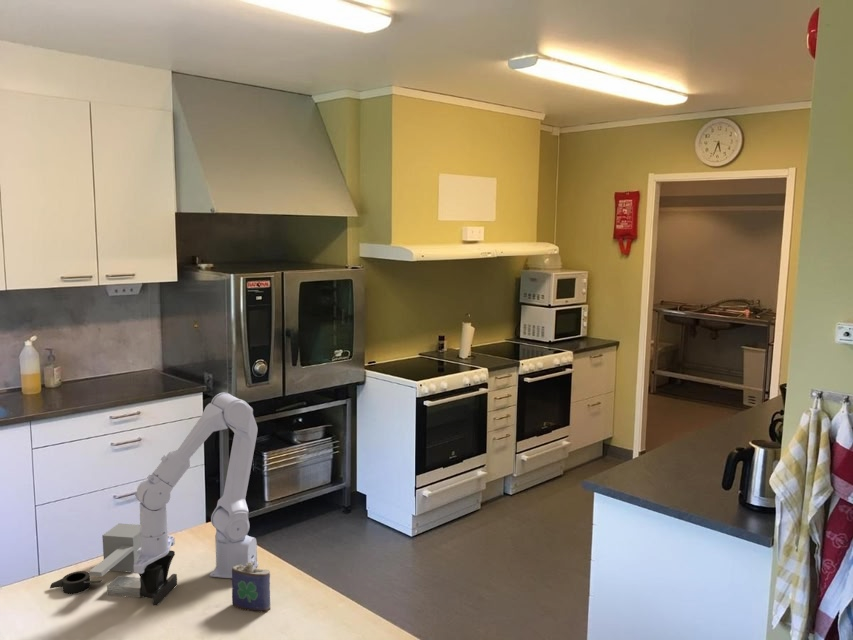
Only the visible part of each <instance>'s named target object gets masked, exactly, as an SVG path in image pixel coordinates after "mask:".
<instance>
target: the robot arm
mask: <svg viewBox="0 0 853 640" xmlns="http://www.w3.org/2000/svg"><path fill="white" fill-rule="evenodd" d="M228 428H229V429H230V430H231V431H232V432H233V433H234V434H233V437H232V438H233V440H232V445H231V450H230V455H229V461H228V467H227V472H226V479H225V483H224V490H223V494H222V496H221V497H220V498H219V499H218V500H217V503H216V507H215V508H214V510H213V511H212V513H211V516H210V522H211V524H212V527H214V528H215V531H216V532H215V535H214V536H215V544H214V545H215V565H216V566H215V568H214V569H213V570H212V571H211V572H210V574H209V577H211V578H221V579H232V568H233V567H234V566H236V565H240V564H242V565H243V566H245V567H246V563H248V562H250V563H252V562H251V561H253V562H254V564H253V568H254V569H257V567H258V565H259V562H258V543H257V538H256V537H253V536H249V535H248V533H249V531H250V528H251V527H250V521H249V508H248V504H247V501H246V498H247V497H246V496H247V491H248V486H249V481H250V477H251V476H250V475H251V469H252V464H253V458H254V452H255V448H256V441H257V436H258V425H257V421H256V419H255V416H254V409H253V407H252V406H250V405H249V403H248V402H246V401H245V400H244V399H240V398H238V397H236V396H233V395H232V394H231V393H228V392H220V393H218V394H216V395H215V396H214V397H212V399H211V402H209V403H208V404H207V405H206V406H205V408H204V410H203V412H202V415H201V416H200V418H199V419H198V420H197V421H196V422H195V425H194V426H193V427H192V429H191V430H190V432H189V433H188V435H187V436H186V437H185V439H184V440H183V442H181V444H180V445H179V447H178V449H177V450H176V449H175V450H173V451H169V452H168V453H167V454H166V455H165V454H164V455H163V456H162V457H161V458H160V461H161V462H160V463H159V464H158V465H157V467H156V468H155V469H154V470H153V472H152V473H151V474H148V476H147V478H146V479H145V480H142V481H141V482H140V484H138V486H137V488H136V491H135V492H134V495H135V498H136V500H138V502H139V525H140V532H141V548H139V549H138V550H137V554H140V555H139V557H138V559H137V562H136V563H135V564H134V572H133V574H138V575H139V578H140V577H141V578H142V580H143V583H144V586H145V588H146V591H147V593H154V592H155V591H156V590H157V589H158V577H159V573H160V570H161V567H162V566H164V571H165V581H166V580H167V579H168V575H169V570H170V567H171V564H172V561H173V559H174V557H175V550H171V548H172V546H175V544H176V541H175V539H176V538H175V536H170V535H169V534H168V533H169V531H168V515H167V514H168V513H167V504H168V503H169V502H170V499H171V492H172V490H173V489H174V487H175V486H176V485H177V484H178V482H179V481H180V479H181V478H182V477H183V476H184V475H185V473H186V472H187V471H188V469H189V468H190V467H191V466H190V465H191V464H190V462H191V461H190V459H191V458H192V457H193V455H194V454H195V453H196V452H197V450H198V449H199V448H200V447H201V446H202V445H203V444H204V443H205V442H206V440H208V438H209V437H210V436H211V435H212V434H213V433H214V432H218V431H222V430H227V429H228Z"/></svg>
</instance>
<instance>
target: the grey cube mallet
mask: <svg viewBox="0 0 853 640" xmlns="http://www.w3.org/2000/svg"><path fill="white" fill-rule="evenodd" d="M101 538H102V552H103V553H102V555H103V560H101V561H100V562H99V563H97V565H95V566H93V568H91V569H90V570H89V571H88V573H89V576H90V577H104V575H106V574H107V573H108V572H109V571H111V572H113V571H114V572H122V571H127V573H134V564H135V563H136V562H137V559H138V557H139V555H140V554H137V550H138V549H139V548H141V532H140V524H133V523H132V524H131V523H117V524H116V525H115V526H112V527H111V528H110V529H109V530H107V531H106V532H105V533H103V534H102V537H101Z"/></svg>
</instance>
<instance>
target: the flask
mask: <svg viewBox="0 0 853 640" xmlns="http://www.w3.org/2000/svg"><path fill="white" fill-rule="evenodd" d="M251 562H252V563H250V562H248V563H246V567H245V566H243V565H242V564H240V565H236V566H234V567H233V568H232V578H231V586H232V587H231V594H232V595H231V600H232V602H231V603H232V605H231V606H232V607H233V608H235V609H239V610H241V611H249V612H257V613H267V612H269V611H270V610H271V585H270V584H271V581H270V580H271V579H270V578H271V572H270V570H268V569H264V568H263V569H262V568H261V569H260V568H255V569H254V568H253V564H254V562H253V561H251Z"/></svg>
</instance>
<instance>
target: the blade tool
mask: <svg viewBox="0 0 853 640" xmlns="http://www.w3.org/2000/svg"><path fill="white" fill-rule="evenodd" d="M176 585H177V586H178V574H177V573H172V574H170V575H169V577H167V580H166V581H165V571H164V566H162V567H161V570H160V573H159V577H158V589H157V590H156V591H155V592H154V593H147V591H146V588H145V586H144V583H143V580H142V578H141V577H140V576H139V577H135V576H134V577H133V576H125V575H123V576H122V575H117V576H116V577H115V578H114V579H112V581H110V582H109V583H108V584H107V585H106V593H107V596H111V595H115V596H114V597H122V596H126V597H125V598H133V597H135V599H141V598H145V597H147V599H152V606H155V607H156V606H159V604H160V603H161V602H163V600H164V599H165V598H166V597H168V595H170V593H171V592H173V590H174V589H175V588H176V587H177V586H176ZM175 586H176V587H175ZM174 587H175V588H174ZM140 597H141V598H140Z"/></svg>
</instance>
